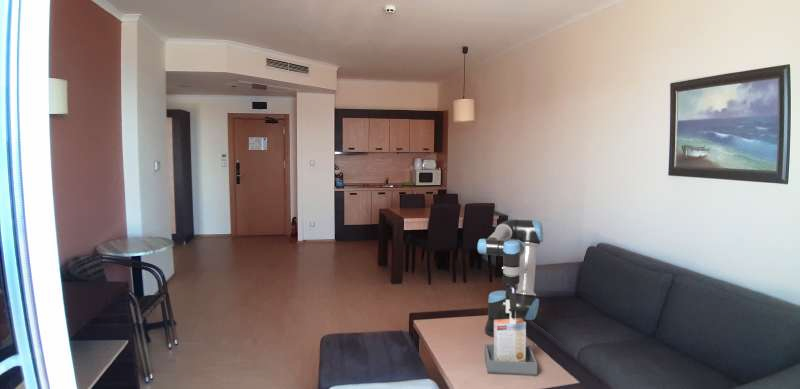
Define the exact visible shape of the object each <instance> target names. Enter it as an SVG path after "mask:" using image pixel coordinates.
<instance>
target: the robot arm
mask: <svg viewBox="0 0 800 389" xmlns="http://www.w3.org/2000/svg"><path fill="white" fill-rule="evenodd" d="M543 228H544V227H543V225H542V222H540V221H539V220H534V219H533V220H531V219H530V220H528V219H509V220H505V221H502V222H501V223H499V224H498V225H497V226H496V227H495V230H494V232H492V234H490V235H489V236H488V238H480V239H478V242H477V247H476V248H477V252H478V253H479V254H481V255H487V256H488V255H489V256H499V257H503V258H502V260H503V261H502V262H503V263H502V265H503V266H502V267H501V270H502V273H503V274H502V282H503V283H504V284H505V286H506V287H505V290H495V291H491V292H490V293H489V295H488V300H487V302H488V303H487V307H488V308H487V311H488V312H487V319H486V320H487V321H486V323H485V327H484V334H485V335H487V336H489V337H492V338H494V320H498V319H509V324H516V318H522V319H523V320H524V321H525V320H527V321H528V320H530V321H533V320H535V318H536V317H537V314H538V310H539V306H540V299H539V298H537V294H536V293H535V277H536V264H537V263H536V262H537V252H538V251H537V250H538V248H539V247H540V246H541V243H543V242H544V229H543ZM515 285H517V287H516V286H515Z"/></svg>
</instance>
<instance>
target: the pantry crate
mask: <svg viewBox="0 0 800 389" xmlns="http://www.w3.org/2000/svg"><path fill="white" fill-rule="evenodd" d="M532 349H533V348H532V347H531V346H530V345H526V362H517V361H496V360H494V343H493V344H491V343H490V344H489V343H484V361H485V365H486V366H485V367H486V372H487V374H488V375H507V376H508V375H509V376H510V375H511V376H523V377H524V376H526V377H538V363H537V359H536V357H535V355H534V353H533V350H532Z"/></svg>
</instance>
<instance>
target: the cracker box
mask: <svg viewBox="0 0 800 389" xmlns="http://www.w3.org/2000/svg"><path fill="white" fill-rule="evenodd" d="M509 319H510V318H509ZM509 319H498V320H494V337H493V344H494V360H496V361H517V362H526V346H527V345H526V344H527V322H526V321H525V319H522V318H516V324H509Z"/></svg>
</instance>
